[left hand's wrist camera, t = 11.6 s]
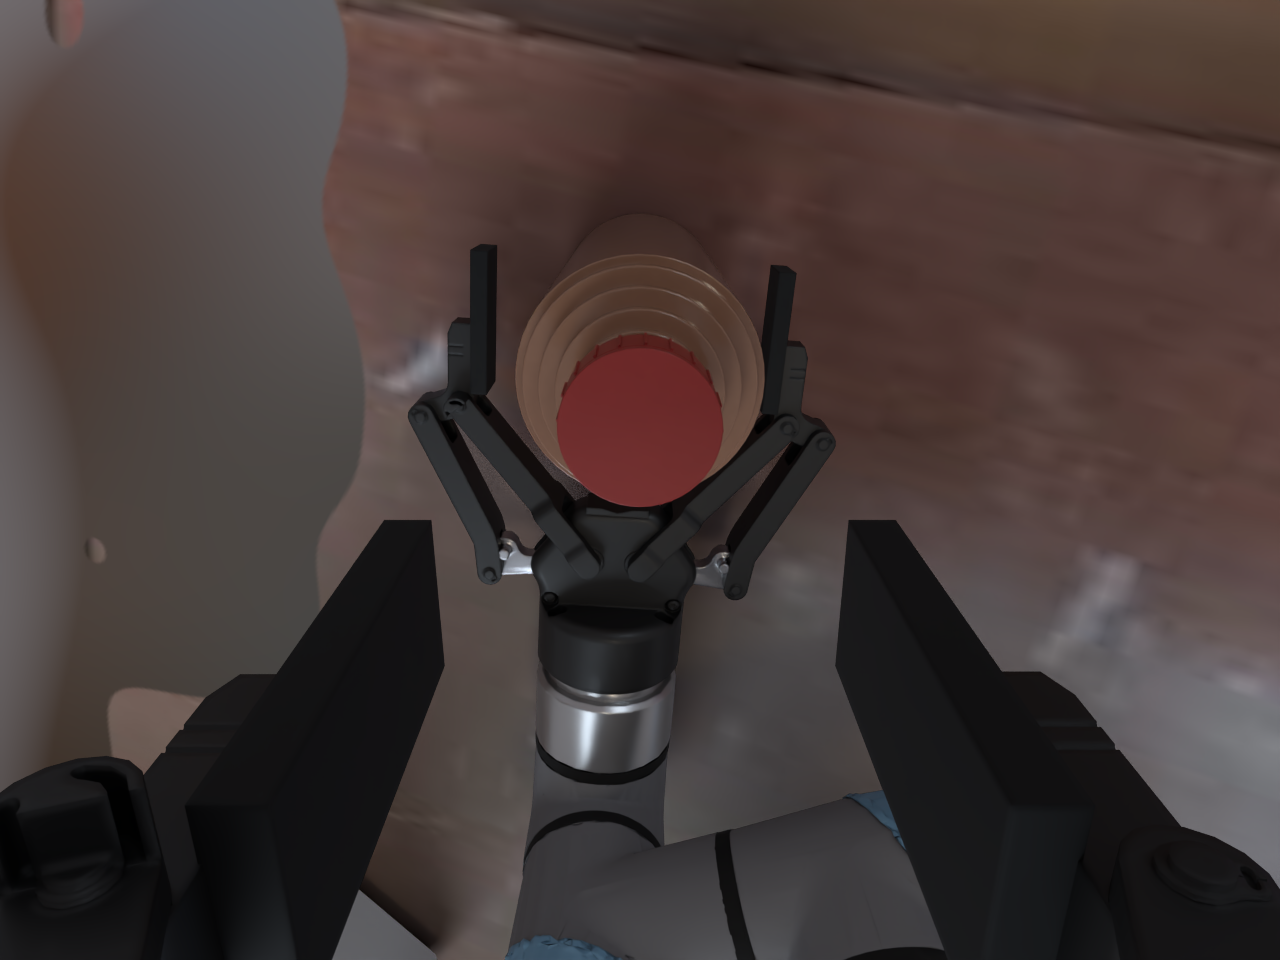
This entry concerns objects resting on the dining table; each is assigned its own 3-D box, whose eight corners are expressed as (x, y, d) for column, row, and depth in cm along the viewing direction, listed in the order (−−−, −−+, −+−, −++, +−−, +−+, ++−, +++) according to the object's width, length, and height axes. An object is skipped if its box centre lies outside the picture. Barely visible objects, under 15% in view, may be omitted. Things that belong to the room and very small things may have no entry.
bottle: (539, 251, 45) (438, 348, 23) (681, 187, 44) (725, 222, 21) (601, 388, 48) (567, 599, 25) (737, 331, 47) (829, 499, 24)
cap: (534, 370, 24) (526, 386, 23) (683, 306, 24) (686, 318, 22) (600, 506, 26) (596, 532, 24) (741, 450, 25) (749, 472, 23)
